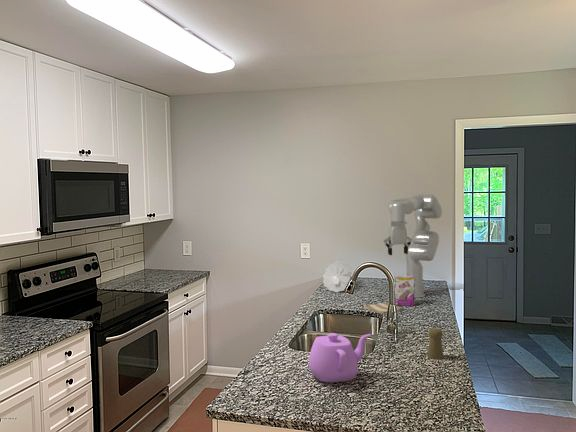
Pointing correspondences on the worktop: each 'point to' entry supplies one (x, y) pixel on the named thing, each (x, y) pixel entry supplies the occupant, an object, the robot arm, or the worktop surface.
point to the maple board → (380, 308)
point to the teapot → (335, 358)
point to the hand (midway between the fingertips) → (398, 254)
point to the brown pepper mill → (435, 344)
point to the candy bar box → (404, 290)
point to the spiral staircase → (337, 276)
